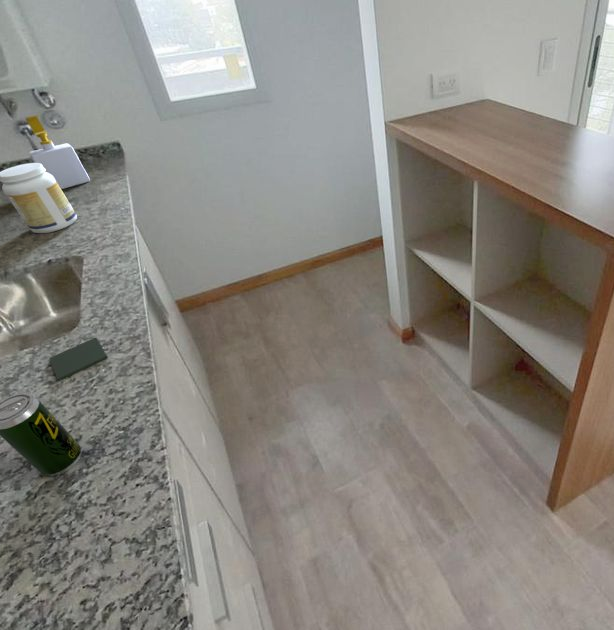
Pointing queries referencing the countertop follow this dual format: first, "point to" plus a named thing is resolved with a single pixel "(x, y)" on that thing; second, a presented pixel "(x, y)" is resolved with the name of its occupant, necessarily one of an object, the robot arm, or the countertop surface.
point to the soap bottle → (57, 158)
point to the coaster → (77, 358)
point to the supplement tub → (37, 198)
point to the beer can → (37, 435)
